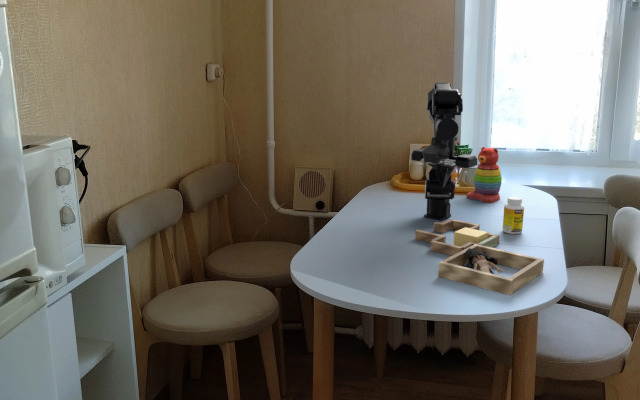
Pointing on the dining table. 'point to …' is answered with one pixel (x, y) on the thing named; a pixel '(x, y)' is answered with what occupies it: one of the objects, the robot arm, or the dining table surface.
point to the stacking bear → (487, 177)
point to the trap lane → (439, 240)
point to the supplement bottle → (513, 215)
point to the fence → (457, 272)
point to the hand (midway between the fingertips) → (442, 187)
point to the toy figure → (482, 261)
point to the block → (469, 236)
